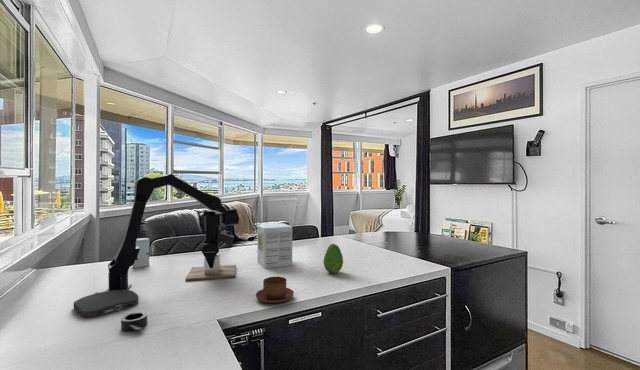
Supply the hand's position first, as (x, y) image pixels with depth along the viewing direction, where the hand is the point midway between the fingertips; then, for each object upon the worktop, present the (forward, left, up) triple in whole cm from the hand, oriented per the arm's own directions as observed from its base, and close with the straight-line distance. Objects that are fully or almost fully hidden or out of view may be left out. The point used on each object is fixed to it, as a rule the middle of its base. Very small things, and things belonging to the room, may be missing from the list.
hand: (212, 265), depth 128 cm
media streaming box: (-27, +28, -4) cm, 39 cm away
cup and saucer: (-34, -22, -4) cm, 40 cm away
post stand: (0, 0, -4) cm, 4 cm away
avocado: (-11, -48, -4) cm, 49 cm away
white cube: (0, 0, -2) cm, 2 cm away
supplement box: (+10, -26, -4) cm, 28 cm away
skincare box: (+20, +32, -4) cm, 38 cm away
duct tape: (-44, +15, -4) cm, 47 cm away
